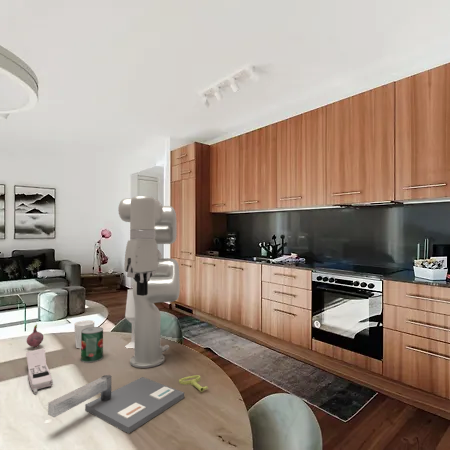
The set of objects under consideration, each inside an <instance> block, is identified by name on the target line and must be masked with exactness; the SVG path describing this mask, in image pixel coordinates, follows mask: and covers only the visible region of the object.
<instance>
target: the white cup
mask: <svg viewBox="0 0 450 450" xmlns="http://www.w3.org/2000/svg"><path fill="white" fill-rule="evenodd" d="M90 327H95V321H94V320H87V319H86V320H81V321H76V322H75V323H74V342H75V348H76V349H77V348H80V349H79V350H81V331H82V330H83V329H86V328H90Z"/></svg>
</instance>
